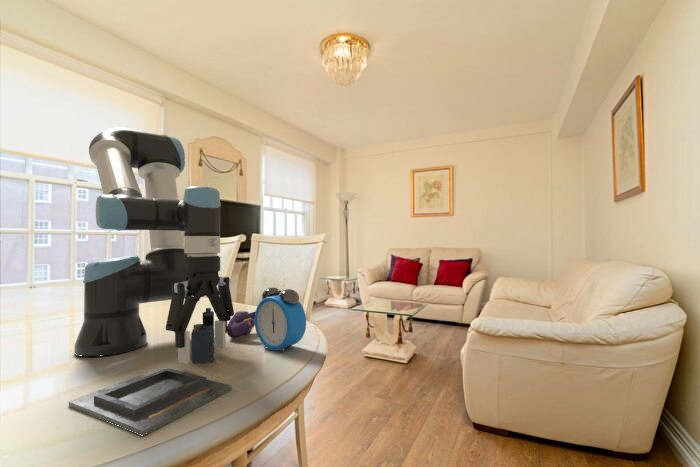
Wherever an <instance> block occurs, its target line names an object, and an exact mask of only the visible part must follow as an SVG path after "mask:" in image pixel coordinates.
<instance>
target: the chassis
mask: <svg viewBox="0 0 700 467" xmlns="http://www.w3.org/2000/svg"><path fill="white" fill-rule="evenodd" d="M229 391H232V385H231V384H228V383H223V382H219V381H216V380H212V379H208V377H205V376H202V375H199V374H193V373H189V372H186V371H181V370H177V369H174V368H169V367H167V368H162V367H159V368H157V369H154V370H152V371H151V370H150V371H149V372H145V373H143V374H140V375H138V376H135V377H132V378H129V379H127V380H123V381H120V382H118V383H115V384H113V385H109V386H107V387H104V388H101V389H99V390H97V391H94V392H91V393H89V394H86V395H82V396H79V397H77V398H75V399H71V400H69V401H68V408H69V407H70V408H71V407H72V409H75V410H76V411H79V412H80V413H81V412H82V413H84V414H86V413H87V414H86V415H89V414H90V415H89V416H91V415H92V416H91V417H93V416H94V417H93V418H96V417H97V418H96V419H98V418H100V419H99V420H101V419H103V420H105V421H104V422H106V421H108V422H111V423H113V424H116V425H119V426H121V427H123V428H126V429H128V430H131V431H133V432H136V433H138V434H141V435H145V434H146V433H149V432H151V431H153V430H155V429H156V430H158V429H160V428H162V427H163V425H164V426H165V424H166V425H167V423H168V424H170V423H172V422H173V421H175V420H177V419H179V418H181V417H182V416H185V415H186V414H188V413H190V412H192V411H194V410H196V409H197V408H199V407H202V406H203V405H205V404H207V403H209V402H211V401H212V400H215V399H217V398H219V397H220V396H223V395H225V394H226V393H228V392H229ZM103 420H102V421H103ZM108 422H107V423H108ZM169 422H170V423H169ZM111 423H110V424H111ZM113 424H112V425H113ZM161 426H162V427H161ZM159 427H160V428H159ZM123 428H122V429H123ZM157 428H158V429H157ZM128 430H127V431H128ZM156 430H155V431H156ZM133 432H132V433H133ZM153 432H154V431H153ZM151 433H152V432H151ZM149 434H150V433H149ZM145 436H146V435H145Z"/></svg>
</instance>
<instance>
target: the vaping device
mask: <svg viewBox="0 0 700 467" xmlns="http://www.w3.org/2000/svg"><path fill="white" fill-rule="evenodd" d="M190 342H191V343H190V345H191V346H190V348H191V349H190V353H191V354H190V355H191V357H190V358H191V359H190V360H191V361H192V363H193V364H195V363H196V364H210V363H212V362H214V361H215V312H214V310H212V308H211V307H206V308H205V311H203V312H202V323H196V324H193V328H192V332H191V333H190Z"/></svg>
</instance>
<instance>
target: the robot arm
mask: <svg viewBox="0 0 700 467" xmlns="http://www.w3.org/2000/svg"><path fill="white" fill-rule="evenodd" d="M88 154H89V158H90V161H91V162H92V163H93V164H94V165H95V167H96V168H97V173H98V178H99V183H100V186H101V191H102V194H100V195H99V196H97V197H96V201H95V223H96V225H97V227H98V228H99V229H101V230H113V231H149V232H148V233H149V245H150V250H149V251H148V252H147V253H146V254H145V257H144V258H145V260H141V258H140V256H139V255H127V256H117V257H110V258H109V257H108V258H105V259H104V258H103V259H99V260H93V261H91V262H88V263H87V264H86V265H85V267H84V276H83V277H84V278H83V281H82V282H83V284H84V288H83V291H84V293H83V294H84V296H83V323H82V325H81V327H80V330H79V333H78V335H77V338H76V340H75V343H74V354H75V353H76V354H77V355H82V356H99V357H101V356H100V355H108V356H112V355H111V354H114V355H118V354H117V353H119V354H123V352H124V353H126V352H127V353H128V352H130V351H134V350H136V349H139V348H141V347H143V346H145V345H146V344H147V341H148V340H147V339H148V336H147V331H146V329H145V327H144V324H143V321H142V319H141V315H140V304H147V303H154V302H155V303H156V302H164V301H170V305H169V310H168V314H167V319H166V325H165V330H166V331H170V332H174V345H175V346H174V347H175V348H177V362H179V363H183V364H188V363H190V362H191V359H190V358H191V357H190V355H191V354H190V353H191V349H190V348H191V346H190V345H191V343H190V342H191V333H190V331H189V330H187V329H188V326H189V323H190V321H191V319H192V316H193V313H194V312H195V308H196V306H197V303H199V301H201V298H204V297H206V298H208V300H209V303H210V306H211V307H212V310H213V312H214V315H215V316H216V318H217V320H214V349H218V350H225V349H226V334H227V325H228V322H230V320H231V319H232V317H233V316H234V314H235V311H234V304H233V300H232V295H231V291H230V290H231V289H230V280H231V279H230V277H229V276H220V274H219V272H220V271H221V257H220V255H218V254H220V253H221V206H222V204H221V194H220V191H219V190H218V189H217V188H215V187H211V186H201V185H200V186H197V185H196V186H195V185H194V186H188V187H186V188H185V189H184V191H183V192H184V195H183V198H182V199H179V198H178V197H179V196H178V190H177V189H178V188H177V181H176V180H177V179H178V178H179V177H180V175H181V173H182V172H184V169H185V165H186V160H185V159H186V154H185V149H184V146H183V144H182V142H181V141H180V139H178V138H176V137H174V136H169V135H167V134H159V133H153V132H148V131H144V130H138V129H132V128H127V127H114V128H109V129H105V130H103V131H102V132H100V133H98V134H97V135H96V136H94V137H93V138H92V139H91V142H90V143H89V147H88ZM133 169H137V174H138V176H139V177H140V178H141V179H143V180H144V188H145V197H143V195H142V192H141V189H140V187H139V184H138V182H137V178H136V175H135V173H134V171H133ZM183 234H184V237H183ZM77 355H76V356H77Z"/></svg>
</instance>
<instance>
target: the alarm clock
mask: <svg viewBox="0 0 700 467" xmlns="http://www.w3.org/2000/svg"><path fill="white" fill-rule="evenodd" d="M255 311H256V312H255ZM255 311H254V312H255V326H254V328H255V332H256V335H257V337H258V339H259V341H260V342H261V344H262V345H264V346H263V348H264V349H265V348H267V349H269V350H271V351H281V352H282V353H283V352H284V353H285V348H288V347H291V346H293V345H295V344H298V343H299V342H300V341H301V340H302V339H303V337H304V335H305V333H306V329H307V316H306V313H305V312H306V311H305V309H304V306H303V305H302V303H301V301H300V295H299V293H298V292H297V291H296V290H294V289H291V288H286V289H283V290H280V289H279V288H277V287H273V286H272V287H267V288H266V289H265V290H264V291H263V292H262V294H261V301H260V302H259V303H258V305H257V307H256V309H255Z"/></svg>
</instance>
